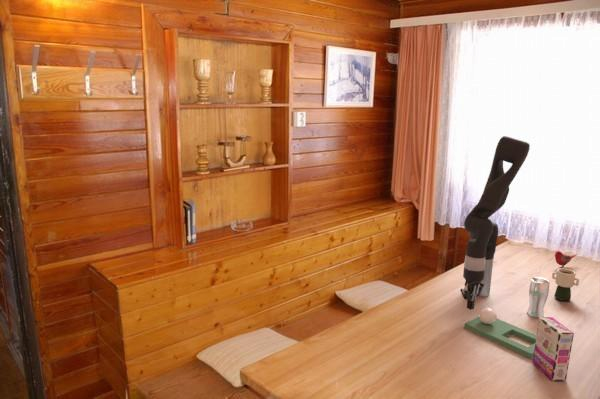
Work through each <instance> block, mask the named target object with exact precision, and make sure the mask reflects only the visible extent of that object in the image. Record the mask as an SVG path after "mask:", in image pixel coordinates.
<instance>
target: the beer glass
mask: <svg viewBox="0 0 600 399" xmlns="http://www.w3.org/2000/svg"><path fill="white" fill-rule="evenodd" d="M549 291H550V281H549V280H548V279H546V278H544V277H540V276H539V277H537V276H534V277H531V279H530V283H529V290H528V296H529V297H528V299H529V305H528V309H527V315H528V316H529V317H532V318H536V319H539V318H540V317H545V311H544V308H545V305H546V303H547V300H548V296H549V293H550V292H549Z"/></svg>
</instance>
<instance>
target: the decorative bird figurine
mask: <svg viewBox="0 0 600 399" xmlns="http://www.w3.org/2000/svg"><path fill="white" fill-rule="evenodd" d="M577 255H578V254H577V253H576V254H574V255H568V254H564V253H563V252H562V251H560V250H557V251H556V252H555V254H554V258H555V262H556V264H558V266H559V269H561V268H563V269H565V266H566V265H567V264H568V263H570V262H571V261H572V259H573V258H574V257H576V256H577Z"/></svg>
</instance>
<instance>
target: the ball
mask: <svg viewBox="0 0 600 399" xmlns="http://www.w3.org/2000/svg"><path fill="white" fill-rule="evenodd" d="M478 317H480V320H481V321H482V322H483V323H485V324H493V323H494V322H495V321H496V318H497V313H496V312H495V311H494V309H492V308H489V307H485V308H483V309H481V310H480V312H479V315H478Z"/></svg>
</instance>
